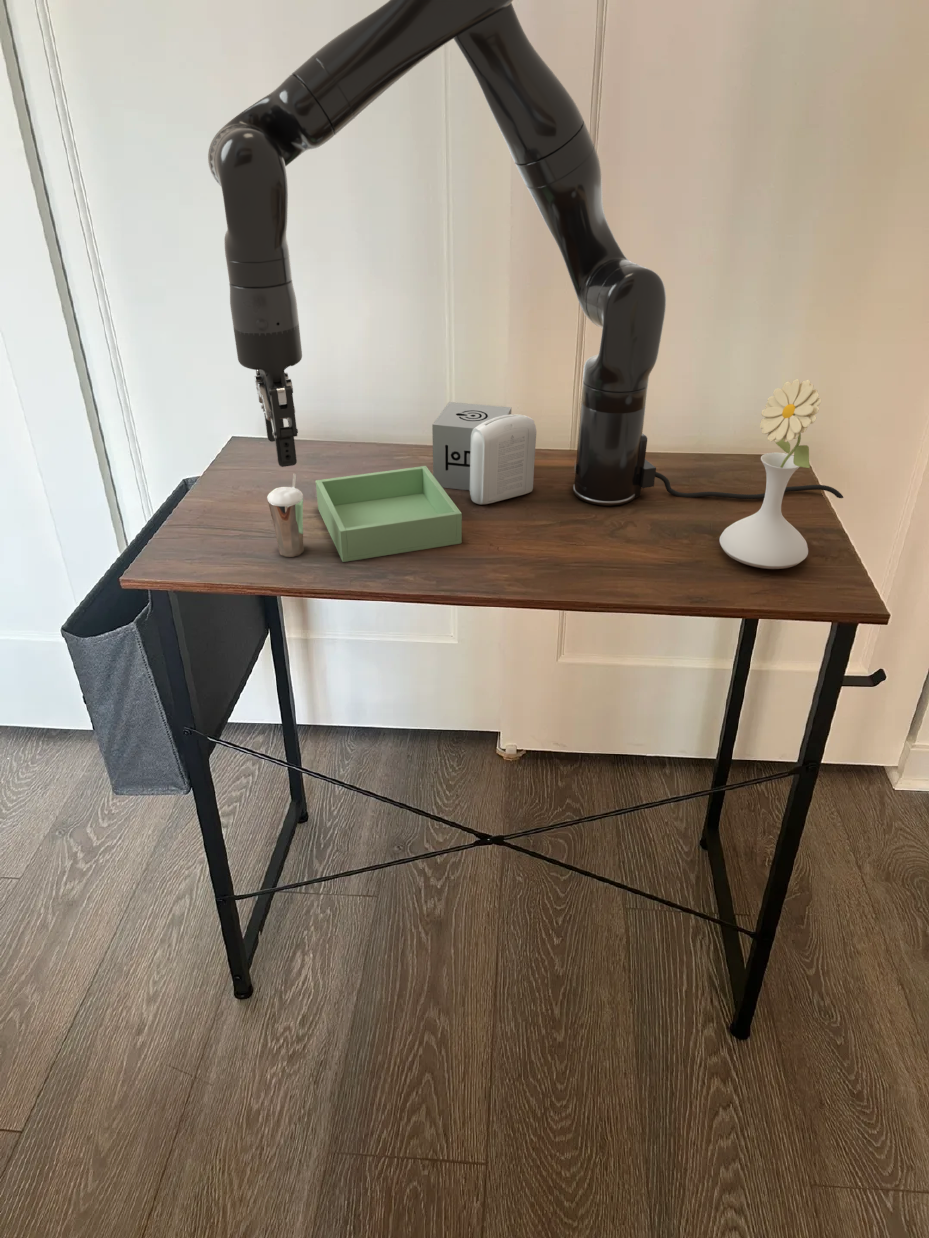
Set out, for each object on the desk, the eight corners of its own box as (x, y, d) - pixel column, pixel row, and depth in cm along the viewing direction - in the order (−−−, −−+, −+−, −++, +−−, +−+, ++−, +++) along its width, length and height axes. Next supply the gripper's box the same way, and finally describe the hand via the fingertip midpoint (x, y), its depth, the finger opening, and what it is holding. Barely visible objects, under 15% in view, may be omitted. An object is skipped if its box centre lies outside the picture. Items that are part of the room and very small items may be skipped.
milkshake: (317, 544, 122) (310, 476, 117) (298, 562, 118) (291, 492, 113) (287, 538, 123) (279, 471, 118) (267, 556, 119) (259, 487, 114)
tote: (426, 493, 136) (426, 465, 133) (461, 543, 123) (461, 513, 120) (318, 509, 131) (315, 480, 129) (342, 562, 118) (340, 531, 115)
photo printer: (520, 482, 139) (524, 405, 132) (537, 492, 136) (541, 414, 129) (465, 498, 134) (465, 419, 127) (481, 509, 131) (482, 428, 124)
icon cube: (433, 486, 138) (432, 424, 132) (449, 461, 146) (448, 401, 141) (496, 493, 136) (498, 430, 130) (509, 467, 144) (511, 407, 139)
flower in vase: (709, 535, 125) (741, 356, 111) (792, 536, 125) (833, 358, 111) (730, 583, 114) (767, 392, 100) (820, 585, 114) (870, 393, 100)
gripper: (309, 335, 99) (322, 470, 108) (287, 303, 111) (301, 428, 120) (240, 341, 97) (260, 478, 106) (225, 309, 109) (244, 435, 118)
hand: (282, 452), depth 113 cm, fingers open, 8 cm apart
